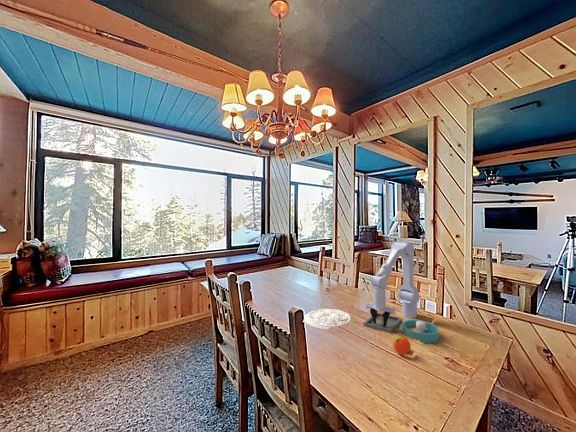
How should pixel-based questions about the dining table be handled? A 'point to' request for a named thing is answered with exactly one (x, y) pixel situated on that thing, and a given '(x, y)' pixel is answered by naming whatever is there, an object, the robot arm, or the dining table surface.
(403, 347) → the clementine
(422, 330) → the stone
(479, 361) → the dining table surface
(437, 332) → the bowl
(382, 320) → the stone
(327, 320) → the ceiling medallion
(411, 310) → the robot arm
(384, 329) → the tray
